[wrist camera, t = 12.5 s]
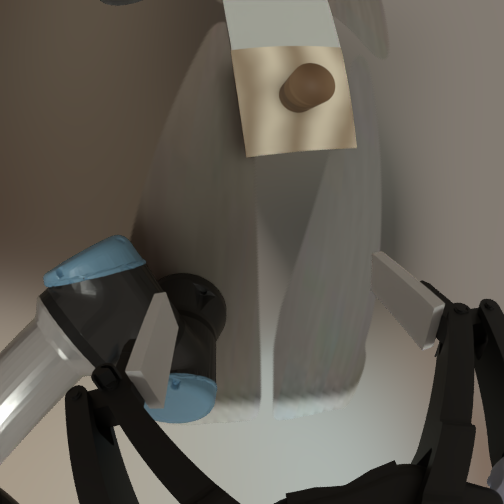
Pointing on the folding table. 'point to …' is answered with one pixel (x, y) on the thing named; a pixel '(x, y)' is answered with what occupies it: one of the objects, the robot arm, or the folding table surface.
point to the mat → (280, 23)
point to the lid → (293, 99)
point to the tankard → (119, 2)
